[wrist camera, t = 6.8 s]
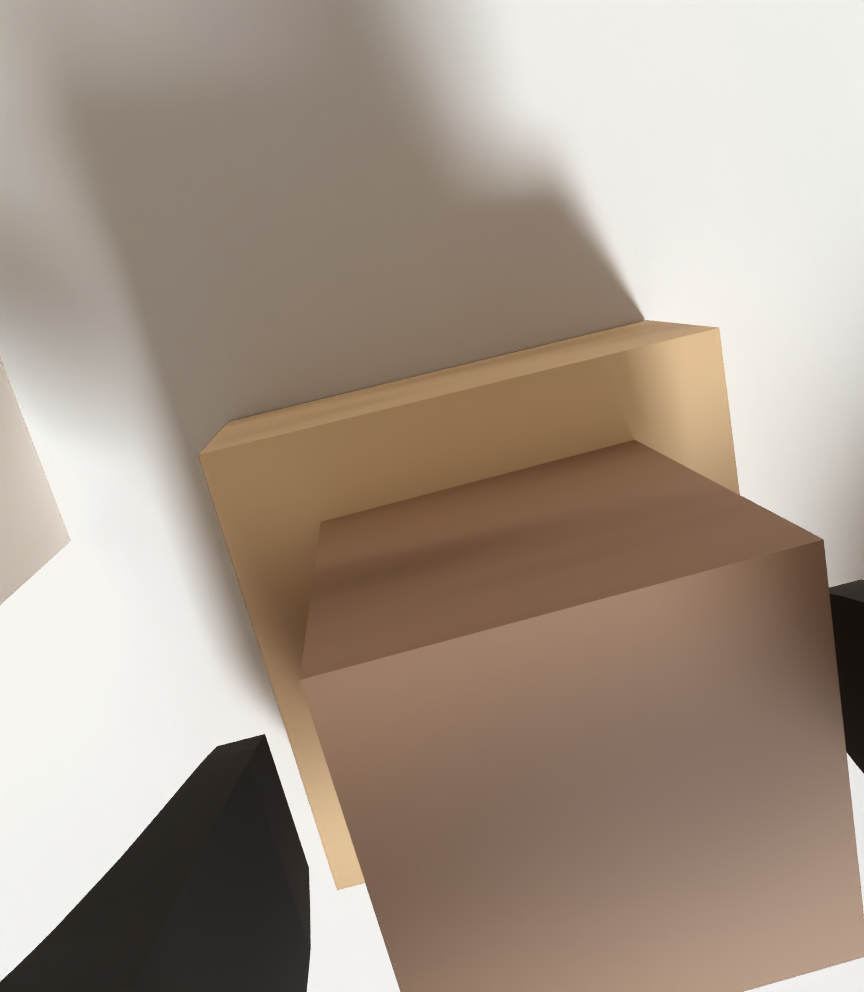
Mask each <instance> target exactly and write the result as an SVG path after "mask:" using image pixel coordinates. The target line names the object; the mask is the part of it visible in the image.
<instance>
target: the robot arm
mask: <svg viewBox="0 0 864 992" xmlns="http://www.w3.org/2000/svg"><path fill="white" fill-rule="evenodd" d="M829 596H830V605H831V615H832V624H833V633H834V643H835V652H836V661H837V670H838V680H839V689H840V698H841V708H842V717H843V726H844V736H845V745H846V752H847V753H848V754H849V756H850V757H851V758H852V760H853V761H854V762H855V763H856V765H857V766H858V767H859V768H860V770H861V771H862V772H863V773H864V580H857V581H854V582H850V583H846V584H842V585H838V586H834V587H830V588H829ZM310 949H311V943H310V891H309V867H308V864H307V861H306V858H305V855H304V852H303V849H302V846H301V843H300V840H299V837H298V833H297V830H296V827H295V824H294V821H293V818H292V815H291V812H290V809H289V806H288V803H287V800H286V797H285V794H284V791H283V788H282V785H281V782H280V779H279V776H278V773H277V770H276V766H275V763H274V760H273V757H272V754H271V751H270V748H269V745H268V742H267V739H266V736H265V734H263V735H259V736H255V737H252V738H248V739H244V740H240V741H236V742H232V743H228V744H225V745H221V746H217V747H216V748H215V749H214V750H213V751H212V752H211V753H210V754H209V755H208V756H207V757H206V758H205V759H204V761H203V762H202V763H201V764H200V765H199V766H198V767H197V769H196V770H195V771H194V772H193V773H192V774H191V776H190V777H189V778H188V779H187V780H186V781H185V783H184V784H183V785H182V786H181V787H180V789H179V790H178V791H177V792H176V793H175V795H174V796H173V797H172V798H171V799H170V801H169V802H168V803H167V804H166V805H165V807H164V808H163V809H162V810H161V811H160V812H159V814H158V815H157V816H156V817H155V818H154V819H153V821H152V822H151V823H150V824H149V825H148V826H147V828H146V829H145V830H144V831H143V832H142V833H141V835H140V836H139V837H138V838H137V839H136V840H135V842H134V843H133V844H132V845H131V846H130V847H129V849H128V850H127V851H126V852H125V853H124V854H123V856H122V857H121V858H120V859H119V860H118V861H117V862H116V863H115V864H114V866H113V867H112V868H111V869H110V870H109V871H108V872H107V873H106V874H105V875H104V876H103V877H102V878H101V880H100V881H99V882H98V883H97V884H96V885H95V886H94V887H93V888H92V889H91V890H90V891H89V892H88V894H87V895H86V896H85V897H84V898H83V899H82V900H81V901H80V902H79V903H78V904H77V905H76V906H75V908H74V909H73V910H72V911H71V912H70V913H69V914H68V915H67V916H66V917H65V918H64V919H63V920H62V922H61V923H60V924H59V925H58V926H57V927H56V928H55V929H54V930H53V931H52V932H51V933H50V934H49V935H48V936H47V937H46V938H45V939H44V940H43V941H42V942H41V943H40V944H39V945H38V946H37V947H36V948H35V949H34V950H33V951H32V952H31V953H30V954H29V955H28V956H27V957H26V958H25V959H24V960H23V961H22V962H21V963H20V964H19V965H18V966H17V967H16V968H15V969H14V970H12V971H11V972H10V973H9V974H8V975H7V976H6V977H5V978H4V979H3V980H2V981H1V982H0V992H307V982H308V972H309V960H310Z"/></svg>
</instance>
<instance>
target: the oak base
mask: <svg viewBox="0 0 864 992" xmlns="http://www.w3.org/2000/svg"><path fill="white" fill-rule="evenodd" d="M632 440H636V441H638V442H640V443H642V444H644V445H646V446H648V447H650V448H652V449H653V450H655V451H657V452H659V453H661V454H663V455H665V456H667V457H669V458H670V459H672V460H674V461H676V462H678V463H680V464H682V465H684V466H686V467H687V468H689V469H691V470H693V471H695V472H697V473H699V474H701V475H703V476H704V477H706V478H708V479H710V480H712V481H714V482H716V483H718V484H720V485H721V486H723V487H725V488H727V489H729V490H731V491H733V492H735V493H737V494H738V495H740V493H739V485H738V477H737V469H736V461H735V453H734V445H733V437H732V428H731V420H730V412H729V404H728V396H727V388H726V380H725V372H724V363H723V355H722V347H721V339H720V331H719V328H717V327H707V326H697V325H688V324H678V323H668V322H659V321H649V320H645V321H641V322H637V323H633V324H629V325H625V326H621V327H616V328H612V329H608V330H604V331H600V332H596V333H592V334H588V335H583V336H579V337H575V338H571V339H567V340H563V341H559V342H555V343H551V344H546V345H542V346H538V347H534V348H530V349H526V350H522V351H518V352H513V353H509V354H505V355H501V356H497V357H493V358H489V359H485V360H480V361H476V362H472V363H468V364H464V365H460V366H456V367H452V368H447V369H443V370H439V371H435V372H431V373H427V374H423V375H419V376H414V377H410V378H406V379H402V380H398V381H394V382H390V383H386V384H381V385H377V386H373V387H369V388H365V389H361V390H357V391H353V392H348V393H344V394H340V395H336V396H332V397H328V398H324V399H320V400H315V401H311V402H307V403H303V404H299V405H295V406H291V407H287V408H282V409H278V410H274V411H270V412H266V413H262V414H258V415H254V416H249V417H245V418H241V419H237V420H233V421H229V422H228V423H227V424H226V425H225V426H224V427H223V428H222V429H221V430H220V432H219V433H218V434H217V435H216V436H215V437H214V438H213V439H212V440H211V441H210V442H209V443H208V444H207V446H206V447H205V448H204V449H203V450H202V451H201V452H200V453H199V454H198V457H199V460H200V463H201V466H202V469H203V472H204V476H205V479H206V482H207V485H208V488H209V491H210V494H211V497H212V501H213V504H214V507H215V510H216V513H217V516H218V519H219V522H220V526H221V529H222V532H223V535H224V538H225V541H226V544H227V547H228V551H229V554H230V557H231V560H232V563H233V566H234V569H235V572H236V576H237V579H238V582H239V585H240V588H241V591H242V594H243V597H244V601H245V604H246V607H247V610H248V613H249V616H250V619H251V622H252V626H253V629H254V632H255V635H256V638H257V641H258V644H259V647H260V651H261V654H262V657H263V660H264V663H265V666H266V669H267V672H268V676H269V679H270V682H271V685H272V688H273V691H274V694H275V698H276V701H277V704H278V707H279V710H280V713H281V716H282V719H283V723H284V726H285V729H286V732H287V735H288V738H289V741H290V744H291V748H292V751H293V754H294V757H295V760H296V763H297V766H298V769H299V773H300V776H301V779H302V782H303V785H304V788H305V791H306V794H307V798H308V801H309V804H310V807H311V810H312V813H313V816H314V819H315V823H316V826H317V829H318V832H319V835H320V838H321V841H322V844H323V848H324V851H325V854H326V857H327V860H328V863H329V866H330V869H331V873H332V876H333V879H334V882H335V885H336V888H337V890H340V889H344V888H347V887H351V886H355V885H359V884H362V883H365V880H364V877H363V874H362V871H361V868H360V865H359V862H358V859H357V856H356V853H355V849H354V846H353V843H352V840H351V837H350V834H349V831H348V828H347V825H346V822H345V819H344V816H343V812H342V809H341V806H340V803H339V800H338V797H337V794H336V791H335V788H334V785H333V782H332V778H331V775H330V772H329V769H328V766H327V763H326V760H325V757H324V754H323V751H322V748H321V745H320V741H319V738H318V735H317V732H316V729H315V726H314V723H313V720H312V717H311V714H310V711H309V707H308V704H307V701H306V698H305V695H304V692H303V689H302V686H301V683H300V674H301V666H302V659H303V651H304V644H305V636H306V629H307V621H308V614H309V606H310V599H311V591H312V584H313V576H314V569H315V561H316V554H317V546H318V539H319V531H320V524H321V522H322V521H326V520H330V519H334V518H338V517H341V516H345V515H349V514H353V513H357V512H360V511H364V510H368V509H372V508H376V507H380V506H383V505H387V504H391V503H395V502H399V501H403V500H406V499H410V498H414V497H418V496H422V495H425V494H429V493H433V492H437V491H441V490H445V489H448V488H452V487H456V486H460V485H464V484H467V483H471V482H475V481H479V480H483V479H487V478H490V477H494V476H498V475H502V474H506V473H509V472H513V471H517V470H521V469H525V468H529V467H532V466H536V465H540V464H544V463H548V462H551V461H555V460H559V459H563V458H567V457H571V456H574V455H578V454H582V453H586V452H590V451H594V450H597V449H601V448H605V447H609V446H613V445H616V444H620V443H624V442H628V441H632Z"/></svg>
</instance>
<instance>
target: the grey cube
mask: <svg viewBox="0 0 864 992" xmlns="http://www.w3.org/2000/svg"><path fill="white" fill-rule="evenodd" d="M70 541H71V540H70V537H69V535H68V532H67V530H66V527H65V524H64V522H63V519H62V517H61V514H60V511H59V509H58V506H57V504H56V501H55V498H54V496H53V493H52V491H51V488H50V485H49V483H48V480H47V478H46V475H45V472H44V470H43V467H42V465H41V462H40V459H39V457H38V454H37V452H36V449H35V446H34V444H33V441H32V439H31V436H30V434H29V431H28V428H27V426H26V423H25V421H24V418H23V415H22V413H21V410H20V408H19V405H18V402H17V400H16V397H15V395H14V392H13V389H12V387H11V384H10V382H9V379H8V376H7V374H6V371H5V369H4V366H3V363H2V361H1V358H0V605H1V604H2V603H3V602H4V601H5V600H6V599H7V598H8V597H10V596H11V595H12V594H13V593H14V592H15V591H16V590H17V589H18V588H20V587H21V586H22V585H23V584H24V583H25V582H26V581H27V580H28V579H30V578H31V577H32V576H33V575H34V574H35V573H36V572H37V571H38V570H39V569H41V568H42V567H43V566H44V565H45V564H46V563H47V562H48V561H49V560H51V559H52V558H53V557H54V556H55V555H56V554H57V553H58V552H59V551H61V550H62V549H63V548H64V547H65V546H66V545H67V544H68V543H69V542H70Z"/></svg>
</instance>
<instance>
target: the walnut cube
mask: <svg viewBox="0 0 864 992" xmlns="http://www.w3.org/2000/svg"><path fill="white" fill-rule="evenodd" d="M300 683H301V686H302V689H303V692H304V695H305V698H306V701H307V704H308V707H309V711H310V714H311V717H312V720H313V723H314V726H315V729H316V732H317V735H318V738H319V741H320V745H321V748H322V751H323V754H324V757H325V760H326V763H327V766H328V769H329V772H330V775H331V778H332V782H333V785H334V788H335V791H336V794H337V797H338V800H339V803H340V806H341V809H342V812H343V816H344V819H345V822H346V825H347V828H348V831H349V834H350V837H351V840H352V843H353V846H354V849H355V853H356V856H357V859H358V862H359V865H360V868H361V871H362V874H363V877H364V880H365V883H366V887H367V890H368V893H369V896H370V899H371V902H372V905H373V908H374V911H375V914H376V917H377V920H378V924H379V927H380V930H381V933H382V936H383V939H384V942H385V945H386V948H387V951H388V954H389V958H390V961H391V964H392V967H393V970H394V973H395V976H396V979H397V982H398V985H399V988H400V992H744V991H747V990H751V989H754V988H758V987H761V986H765V985H768V984H772V983H775V982H778V981H782V980H785V979H789V978H792V977H796V976H799V975H803V974H806V973H810V972H813V971H817V970H820V969H824V968H827V967H831V966H834V965H838V964H841V963H845V962H848V961H852V960H855V959H859V958H862V957H864V913H863V903H862V894H861V885H860V875H859V866H858V857H857V847H856V838H855V829H854V820H853V810H852V801H851V792H850V782H849V773H848V764H847V754H846V745H845V736H844V726H843V717H842V708H841V698H840V689H839V680H838V670H837V661H836V652H835V643H834V633H833V624H832V615H831V605H830V596H829V587H828V577H827V568H826V559H825V549H824V540H823V539H821V538H820V537H818V536H816V535H814V534H812V533H810V532H808V531H806V530H804V529H803V528H801V527H799V526H797V525H795V524H793V523H791V522H789V521H787V520H786V519H784V518H782V517H780V516H778V515H776V514H774V513H772V512H771V511H769V510H767V509H765V508H763V507H761V506H759V505H757V504H755V503H754V502H752V501H750V500H748V499H746V498H744V497H742V496H740V495H738V494H737V493H735V492H733V491H731V490H729V489H727V488H725V487H723V486H721V485H720V484H718V483H716V482H714V481H712V480H710V479H708V478H706V477H704V476H703V475H701V474H699V473H697V472H695V471H693V470H691V469H689V468H687V467H686V466H684V465H682V464H680V463H678V462H676V461H674V460H672V459H670V458H669V457H667V456H665V455H663V454H661V453H659V452H657V451H655V450H653V449H652V448H650V447H648V446H646V445H644V444H642V443H640V442H638V441H636V440H632V441H628V442H624V443H620V444H616V445H613V446H609V447H605V448H601V449H597V450H594V451H590V452H586V453H582V454H578V455H574V456H571V457H567V458H563V459H559V460H555V461H551V462H548V463H544V464H540V465H536V466H532V467H529V468H525V469H521V470H517V471H513V472H509V473H506V474H502V475H498V476H494V477H490V478H487V479H483V480H479V481H475V482H471V483H467V484H464V485H460V486H456V487H452V488H448V489H445V490H441V491H437V492H433V493H429V494H425V495H422V496H418V497H414V498H410V499H406V500H403V501H399V502H395V503H391V504H387V505H383V506H380V507H376V508H372V509H368V510H364V511H360V512H357V513H353V514H349V515H345V516H341V517H338V518H334V519H330V520H326V521H322V522H321V524H320V531H319V539H318V546H317V554H316V561H315V569H314V576H313V584H312V591H311V599H310V606H309V614H308V621H307V629H306V636H305V644H304V651H303V659H302V666H301V674H300Z"/></svg>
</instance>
